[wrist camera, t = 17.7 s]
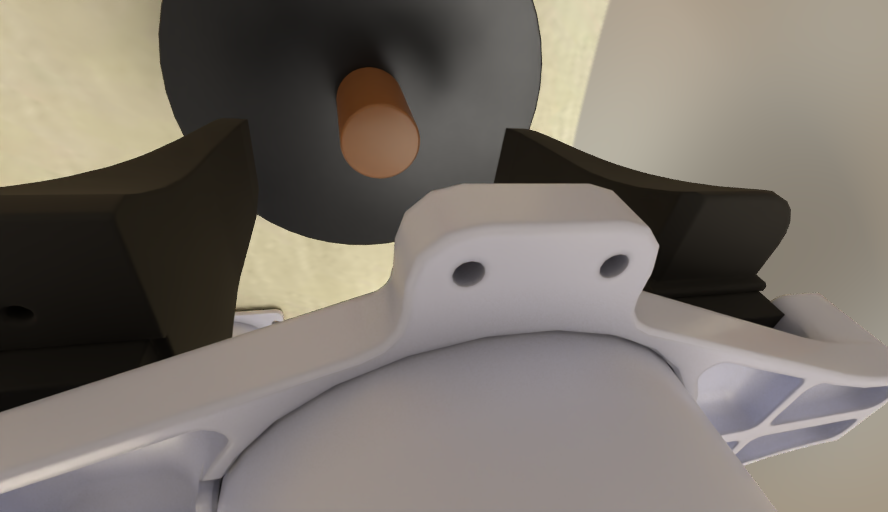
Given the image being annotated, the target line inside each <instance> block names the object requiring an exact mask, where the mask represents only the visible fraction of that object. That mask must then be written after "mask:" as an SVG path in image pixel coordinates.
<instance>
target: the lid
mask: <svg viewBox="0 0 888 512" xmlns="http://www.w3.org/2000/svg"><path fill="white" fill-rule="evenodd" d="M159 51H160V65H161V70H162V75H163V80H164V85H165V90H166V93H167V96H168V99H169V102H170V105H171V108H172V111H173V114H174V117H175V119H176V121H177V123H178V125H179V127H180V129H181V131H182V133H183V135H184V136H186V135H188V134H189V133H191V132H193V131H195V130H197V129H199V128H201V127H203V126H204V125H206V124H208V123H210V122H212V121H215V120H217V119H221V118H232V119H248V124H249V130H250V137H251V143H252V149H253V155H254V161H255V168H256V174H257V180H258V186H259V193H258V205H257V215H259V216H261V217H262V218H264V219H266V220H267V221H269V222H271V223H273V224H275V225H277V226H280V227H282V228H284V229H286V230H288V231H291V232H294V233H297V234H300V235H302V236H305V237H308V238H312V239H317V240H321V241H326V242H331V243H339V244H347V245H373V244H384V243H391V242H395V237H396V234H397V232H398V229H399V226H400V224H401V221H402V219H403V216H404V214H405V212H406V211H407V210H408V209H409V208H411V207H412V206H413V205H414V204H416V203H417V202H418V201H419V200H421V199H422V198H423V197H424V196H425V195H427V194H428V193H429V192H430V191H434V190H438V189H443V188H447V187H451V186H455V185H459V184H494V179H495V175H496V170H497V166H498V161H499V157H500V152H501V148H502V143H503V139H504V134H505V130H506V128H520V129H530V126H531V123H532V119H533V116H534V113H535V110H536V106H537V101H538V96H539V90H540V83H541V70H542V52H541V36H540V30H539V24H538V18H537V13H536V9H535V6H534V3H533V0H162V3H161V13H160V23H159Z"/></svg>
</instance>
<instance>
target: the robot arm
mask: <svg viewBox="0 0 888 512" xmlns="http://www.w3.org/2000/svg"><path fill="white" fill-rule="evenodd" d="M258 193H259V186H258V180H257V174H256V168H255V161H254V155H253V149H252V143H251V137H250V130H249V124H248V119H232V118H221V119H217V120H215V121H212V122H210V123H208V124H206V125H204V126H203V127H201V128H199V129H197V130H195V131H193V132H191V133H189V134H188V135H186V136H184V137H182V138H180V139H178V140H176V141H174V142H171V143H169V144H167V145H165V146H163V147H161V148H159V149H156V150H154V151H152V152H150V153H147V154H145V155H142V156H140V157H137V158H134V159H131V160H128V161H125V162H122V163H119V164H116V165H113V166H109V167H106V168H102V169H98V170H93V171H89V172H85V173H81V174H77V175H73V176H69V177H64V178H58V179H53V180H47V181H41V182H35V183H28V184H21V185H14V186H6V187H0V512H778V511H777V510H776V508H775V507H774V506H773V504H772V503H771V502H770V501H769V499H768V498H767V496H766V495H765V494H764V492H763V491H762V490H761V488H760V487H759V486H758V484H757V483H756V482H755V480H754V479H753V478H752V476H751V475H750V474H749V472H748V471H747V470H746V468H745V467H744V465H747V464H750V463H753V462H756V461H760V460H762V459H766V458H769V457H772V456H775V455H779V454H782V453H786V452H790V451H793V450H797V449H800V448H804V447H808V446H812V445H817V444H821V443H826V442H830V441H835V440H838V439H839V438H841V437H842V436H843V435H845V434H846V433H847V432H849V431H850V430H851V429H853V428H854V427H855V426H857V425H858V424H859V423H861V422H862V421H863V420H865V419H866V418H867V417H869V416H870V415H871V414H873V413H874V412H875V411H877V410H878V409H879V408H881V407H882V406H883V405H884V404H886V403H887V402H888V347H887V346H886V345H884V344H883V343H882V342H881V341H879V340H878V339H877V338H875V337H874V336H873V335H871V334H870V333H869V332H868V331H867V330H865V329H864V328H863V327H861V326H860V325H859V324H858V323H856V322H855V321H854V320H853V319H851V318H850V317H849V316H847V315H846V314H845V313H844V312H842V311H841V310H840V309H839V308H837V307H836V306H835V305H834V304H832V303H831V302H830V301H828V300H827V299H826V298H825V297H823V296H822V295H821V294H820V293H816V292H815V293H802V294H790V295H782V296H779V297H777V298H775V299H773V300H772V301H769V300H768V299H767V298H766V297H765V296H763V295H762V294H761V293H760V292H759V291H763V290H764V289H765V287H766V283H765V282H764V281H763V280H762V279H760V278H759V277H758V276H757V275H756V274H757V273H758V271H759V270H760V269H761V267H762V266H763V265H764V264H765V262H766V261H767V260H768V258H769V257H770V256H771V254H772V253H773V252H774V250H775V249H776V248H777V246H778V245H779V244H780V242H781V240H782V239H783V237H784V236H785V234H786V232H787V229H788V227H789V224H790V215H791V209H790V207H789V205H788V202H787V201H786V200H784V199H783V198H781V197H780V196H779V195H777V194H776V193H774V192H773V191H767V190H758V189H745V188H733V187H732V188H731V187H720V186H712V185H705V184H698V183H691V182H685V181H679V180H673V179H669V178H665V177H660V176H655V175H651V174H647V173H643V172H640V171H636V170H632V169H629V168H626V167H623V166H620V165H616V164H614V163H611V162H608V161H605V160H603V159H600V158H597V157H595V156H593V155H590V154H588V153H585V152H583V151H581V150H578V149H576V148H574V147H571V146H569V145H567V144H565V143H562V142H560V141H558V140H556V139H553V138H551V137H549V136H546V135H544V134H541V133H539V132H536V131H533V130H529V129H520V128H506V130H505V134H504V139H503V143H502V148H501V152H500V157H499V161H498V166H497V170H496V175H495V179H494V184H459V185H455V186H451V187H447V188H443V189H438V190H434V191H430V192H429V193H428V194H427V195H425V196H424V197H423V198H422V199H421V200H419V201H418V202H417V203H416V204H414V205H413V206H412V207H411V208H409V209H408V210H407V211H406V212H405V214H404V216H403V219H402V221H401V224H400V226H399V229H398V232H397V234H396V237H395V245H394V260H393V268H392V272H391V276H390V278H389V280H388V281H387V283H386V284H385V285H384V286H383V287H381V288H380V289H378V290H377V291H374V292H371V293H368V294H365V295H362V296H359V297H356V298H353V299H349V300H346V301H343V302H340V303H337V304H334V305H331V306H328V307H325V308H322V309H318V310H315V311H312V312H309V313H306V314H303V315H300V316H297V317H294V318H291V319H287V320H284V315H283V312H282V311H281V310H278V309H269V310H254V311H240V312H235V308H236V300H237V292H238V286H239V281H240V276H241V272H242V269H243V265H244V261H245V258H246V254H247V250H248V246H249V243H250V239H251V235H252V231H253V228H254V224H255V220H256V215H257V205H258ZM275 321H278V322H275Z"/></svg>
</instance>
